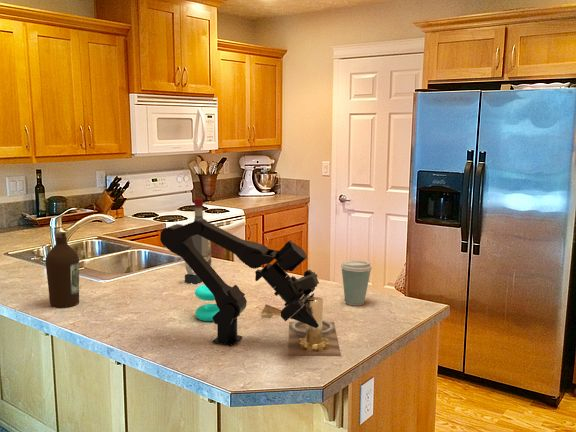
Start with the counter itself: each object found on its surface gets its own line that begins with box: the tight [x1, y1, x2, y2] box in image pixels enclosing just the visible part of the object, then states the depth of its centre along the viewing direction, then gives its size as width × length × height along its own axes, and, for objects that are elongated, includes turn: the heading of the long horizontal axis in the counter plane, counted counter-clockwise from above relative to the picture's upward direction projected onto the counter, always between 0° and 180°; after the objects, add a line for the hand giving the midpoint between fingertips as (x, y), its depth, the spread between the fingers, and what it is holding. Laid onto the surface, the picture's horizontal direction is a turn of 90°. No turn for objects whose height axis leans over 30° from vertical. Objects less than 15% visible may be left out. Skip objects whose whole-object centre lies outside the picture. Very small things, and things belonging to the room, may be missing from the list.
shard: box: [260, 304, 282, 319], centre depth 182 cm, size 11×8×2 cm
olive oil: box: [44, 231, 80, 309], centre depth 188 cm, size 11×11×25 cm
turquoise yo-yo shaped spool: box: [194, 284, 220, 322], centre depth 177 cm, size 10×10×10 cm
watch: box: [184, 262, 203, 285], centre depth 217 cm, size 6×8×11 cm
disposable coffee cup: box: [340, 260, 373, 307], centre depth 192 cm, size 11×11×15 cm
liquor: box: [191, 197, 212, 266], centre depth 242 cm, size 9×9×30 cm
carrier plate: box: [288, 319, 342, 357], centre depth 158 cm, size 26×14×2 cm, turn 0°
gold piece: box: [299, 296, 329, 352], centre depth 151 cm, size 8×8×14 cm
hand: (319, 324), depth 151 cm, fingers closed on gold piece, 4 cm apart
